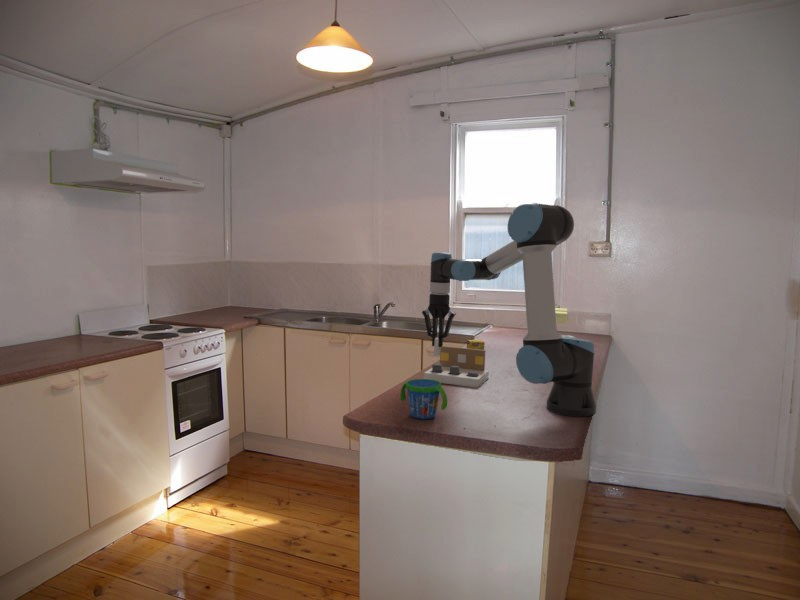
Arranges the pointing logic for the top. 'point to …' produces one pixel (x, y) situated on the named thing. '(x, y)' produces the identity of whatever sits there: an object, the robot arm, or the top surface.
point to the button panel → (465, 360)
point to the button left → (437, 368)
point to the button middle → (454, 370)
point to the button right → (472, 374)
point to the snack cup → (423, 397)
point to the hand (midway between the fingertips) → (436, 354)
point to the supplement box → (475, 344)
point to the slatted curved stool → (561, 315)
